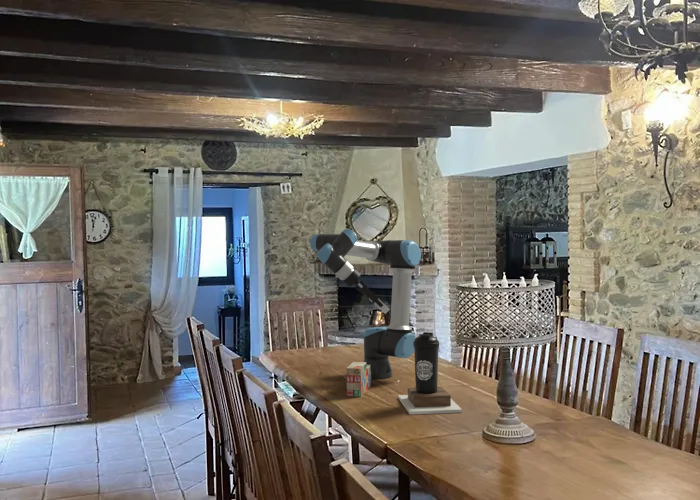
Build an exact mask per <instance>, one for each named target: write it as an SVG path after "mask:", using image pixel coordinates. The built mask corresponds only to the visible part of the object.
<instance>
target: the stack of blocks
mask: <svg viewBox="0 0 700 500" xmlns="http://www.w3.org/2000/svg"><path fill="white" fill-rule="evenodd" d="M345 378H346V397H354V398H355V397H356V398H361V397H362V396H364V394H365V393H366V392H367V391H368V389H369V388H370V387H371V386H372V379H371V365H367V363H366V362H364V361H352V362H351V363H350V365H348V366H347V367H346V377H345Z"/></svg>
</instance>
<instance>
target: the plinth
mask: <svg viewBox="0 0 700 500" xmlns="http://www.w3.org/2000/svg"><path fill="white" fill-rule="evenodd" d="M407 395H408V399H409V400H410V402H411V403H412V404H413V406H414V407H441V406H451V399H452V398H451V394H449V392H447V391H446V390H445V388H444V387H442V386H437V392H436V393H433V394H422V393H418V392H416V387H409V388H407Z"/></svg>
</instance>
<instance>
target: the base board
mask: <svg viewBox="0 0 700 500" xmlns="http://www.w3.org/2000/svg"><path fill="white" fill-rule="evenodd" d="M398 400H399V402H401V404H402V405H403V407H404V409H405V411H407V412H408V414H409V416H410V415H432V414H433V415H434V414H456V413H459V414H462V413H463V409H462V408H461V407H460V405H458V404H457V402H455V401H454V400H453V399H452V398H451V406H441V407H414V406H413V404H412V403H411V402H410V400H409V399H408V394H398Z"/></svg>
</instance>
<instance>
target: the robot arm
mask: <svg viewBox="0 0 700 500" xmlns="http://www.w3.org/2000/svg"><path fill="white" fill-rule="evenodd" d="M309 246H310V249H311V250H312V251H314V252H317V253H316V257H317V258H318V260H319V261H320V262H321V263H322V265H324V266H325V267H327V268H328V269H329V270H330V272H332V273H333V274H334V275H335V278H337V279H339V280H341V281H342V283H343V284H344V285H345V286H347V288H350V287H351V286H353V285H354V289H356V290H357V291H358V292H360V293H361V294H363V295H364V296H365V297H366V299H368V300H369V301H370V302H371V304H372V305H374V306H375V307H376V308H377V309H378V310H380V311H381V312H383V313H384V314H385V315H386V314H387V313H388V312H389V311H390V323H389V324H388V326H374V327H368V328H365V329H364V330H363V331H364V332H363V355H364V356H363V358H364V359H363V362H366V363H367V365H371V380H375V379H376V380H379V379H380V380H381V379H389V378H391V377H393V368H392V366H391V363H390V358H389V357H395V358H398V359H408V358H410V357H411V356H412V355H413V354H414V346H413V341H414V340H415V339H416V338H417V337H416V335H415V334H413V328H412V327H411V326H410V313H411V311H410V310H411V290H412V273H413V272H415V271H416V266H417V265H419V264H420V262H421V259H422V253H421V249H420V247H419V245H418V243H416V242H415V240H409V239H403V240H401V239H400V240H397V239H395V240H393V239H392V240H391V239H389V240H387V239H386V240H368V241H365V240H364V241H363V240H361V239H359V240H358V235H357V234H356V232H355V231H353V230H352V229H349V228H345V229H343V230H342V231H341V232H340V233H332V234H327V233H326V234H323V233H321V234H320V233H318V234H313V235H312V236H311V237H310V241H309ZM346 256H351V257H357V258H358V257H359V258H365V260H367V261H369V262H375V263H379V264H383V265H387V266H388V265H389V269H390V271H391V272H392V285H391V287H392V288H391V289H392V290H391V303H390V304H391V305H390V307H391V308H389V307H388V305H386V304H385V302H383V301H382V300H381V299H380V298H379V297H378V296H377V295H375V293H374V292H373V291H372V290H371V289H369V287H368V286H367V285H366V283H365V282H363V280H359V279H360V277H361V275H362V274H361V273H360V272H359V271H358V270H357V268H354V266H353V265H352V264H351V263H350V262H349V261H348V260H347V259H346V258H345V257H346Z"/></svg>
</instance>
